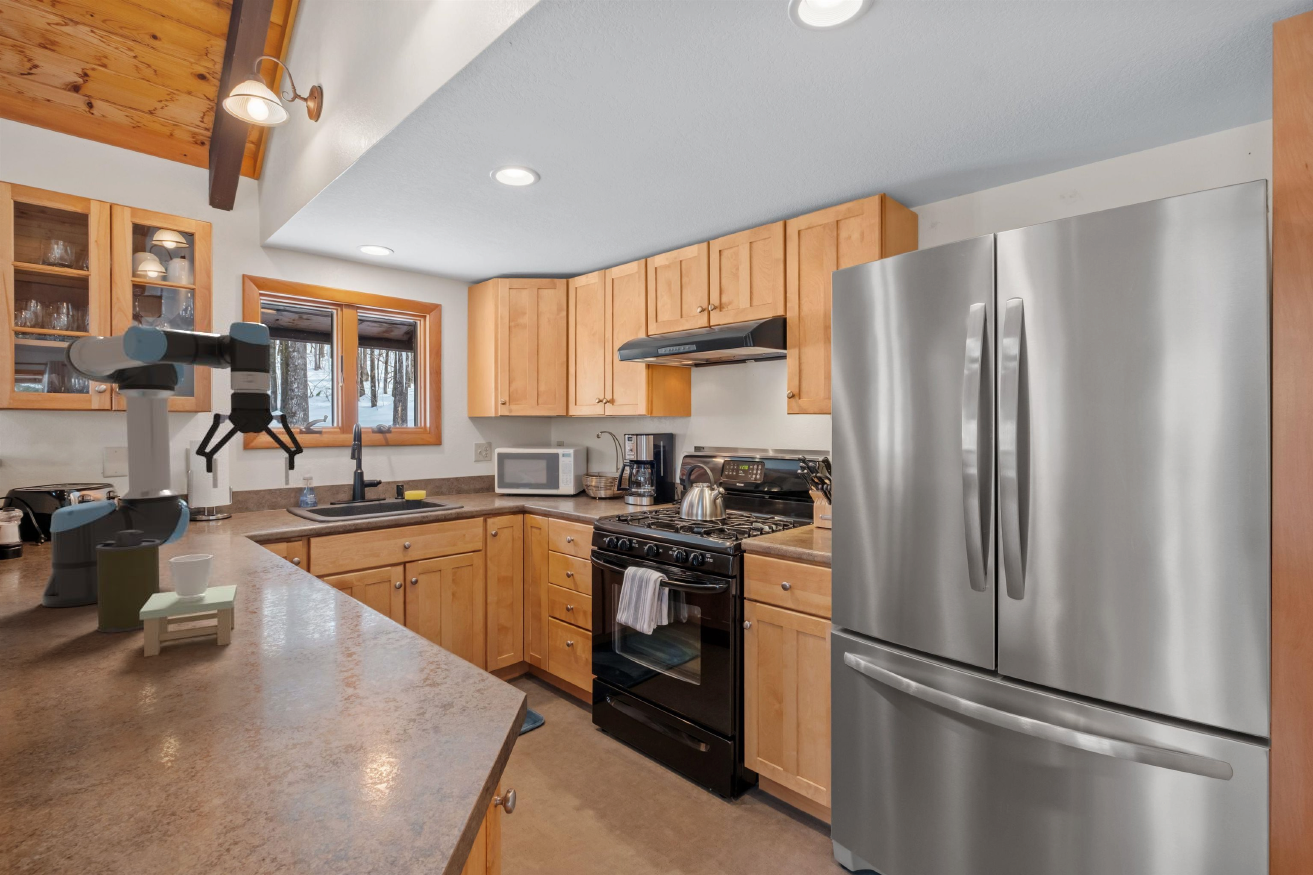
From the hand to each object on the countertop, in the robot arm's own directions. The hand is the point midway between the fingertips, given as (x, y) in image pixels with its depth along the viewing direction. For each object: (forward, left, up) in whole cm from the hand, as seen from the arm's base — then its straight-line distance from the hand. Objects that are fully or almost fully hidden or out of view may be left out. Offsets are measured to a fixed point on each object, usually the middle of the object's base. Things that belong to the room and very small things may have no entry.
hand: (252, 486), depth 140 cm
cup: (+16, -10, -20) cm, 27 cm away
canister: (-3, -22, -29) cm, 37 cm away
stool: (+16, -10, -29) cm, 34 cm away
